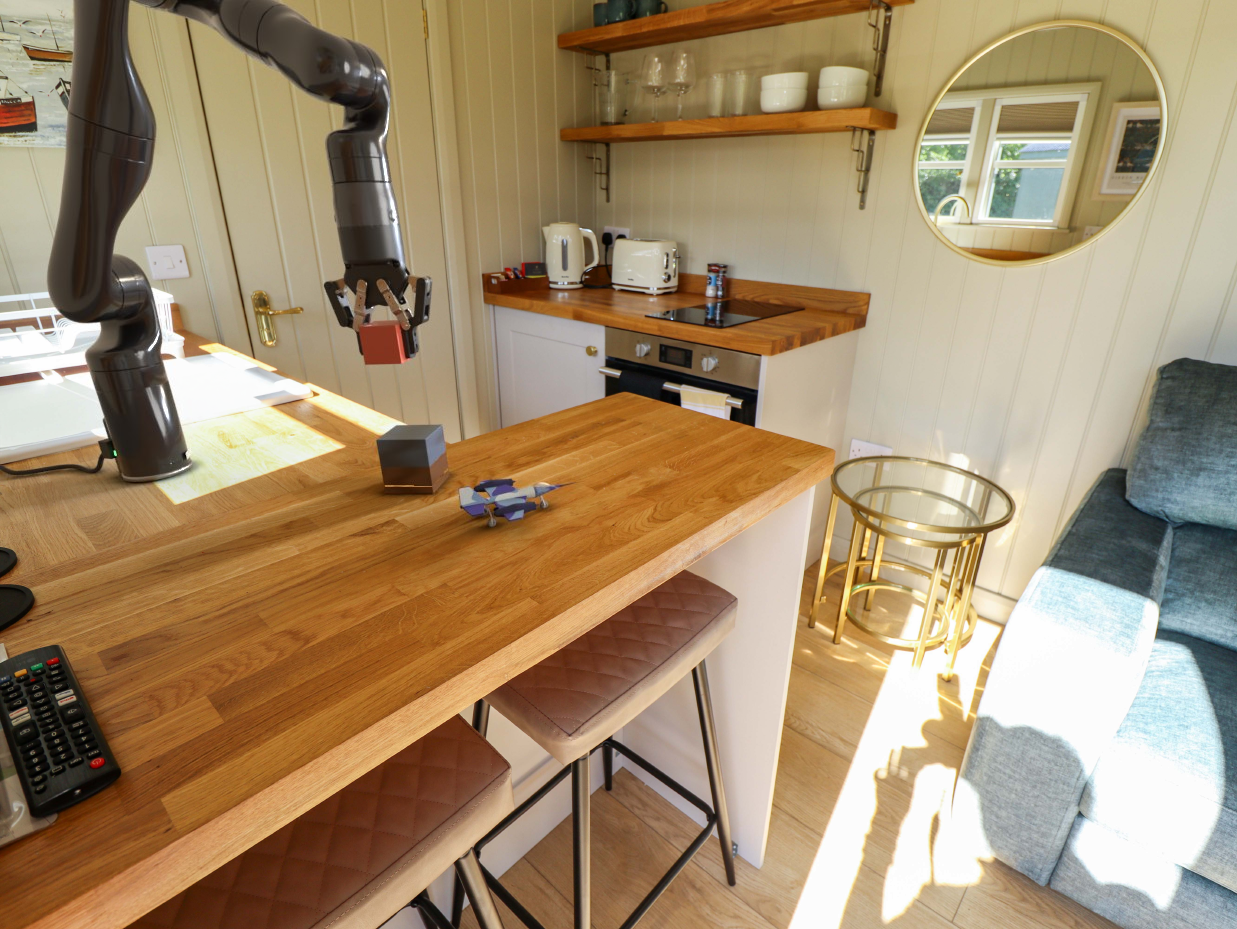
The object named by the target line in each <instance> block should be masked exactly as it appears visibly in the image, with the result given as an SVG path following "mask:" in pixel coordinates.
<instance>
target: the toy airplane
mask: <svg viewBox="0 0 1237 929" xmlns="http://www.w3.org/2000/svg"><path fill="white" fill-rule="evenodd" d="M516 482H517V480H513V478H511V477H510V478H498V479H497V478H496V479H493V478H492V479H490V478H489V479H485V480H481V481H479V484H477V485H475V486H473V488H471V486H469V485H468V486H464V487H460V488H458V499H459V504H460V505H459V508H460V510H463V511H465V512H466V513H467V514H468V515H469V516H471V517H472V518H474V517H478V516H487V515H488V514H489V516H490V518H489V519H488V520H487V525H488V527H490V528H493V527H495V526H496V524H497V520H496V519H495V518H505V519H506V520H507V522H514V521H515V522H516V521H518V520H522V519H523V518H524V515H525V514H527V513H530V512H533V511H535V510H537V508H538V507H540V508H541V509H546V508H548V506H549V504H548V501H546V500H544V497H543V496H544V495H545V494H547V493H550V492H552V491H554V490H558V489H560V488H562V487H565V486H569V485H570V486H571V485H573V484H578V483H579V481H577V482H570V483H565V484H554V485H553V484H551V485H550V484H549V483H547V482H544V481H540V482H536V483H534V484H532V485H529V486H526V487H523V488H518V487H515V486H514V483H516ZM581 482H583V481H580V483H581ZM480 493H486V494H487V495H488V497H483V496H482V495H481V494H480ZM536 498H539V499H540V500H539V501H540V503H536V501H527V500H529V499H530V500H531V499H536ZM489 505H495V507H494V508H493V509H492V511H493V515H492V512H491V510H490V508H489ZM485 506H486V507H485ZM493 516H494V517H495V518H493Z"/></svg>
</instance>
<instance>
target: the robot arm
mask: <svg viewBox="0 0 1237 929" xmlns="http://www.w3.org/2000/svg"><path fill="white" fill-rule="evenodd" d="M130 2H133V3H135V4H137V5H140V6H143V7H146V8H147V9H151V10H153V11H159V12H164V13H168V14H171V15H175V16H179V17H181V18H185V19H189V20H192V21H194V22H198V23H200V24H202V25H204V26H207V27H209V28H210V29H212V30H214V31H216V32H217V33H218V34H220V36H221V37H222V38H224V39H225V40H226V41H227V42H228V43H229V44H230V45H232V46H233V47H234V48H236V49H238V50H239V51H241V52H242V53H244V54H246V55H247V56H249V57H251V58H252V59H253V60H256V61H258V62H259V63H261V64H263V65H265V66H266V67H269V68H270V69H273V70H274V71H276V72H278V73H280V74H281V75H282V76H283V77H284V78H285V79H286V80H288V81H289V82H290V83H291V84H292V85H293V86H295V87H296V88H297V89H298V90H300V91H301V92H302V93H304V94H306V95H308V96H310V97H311V98H313V99H316V100H318V101H320V102H323V103H324V104H325V103H326V104H329V105H336V106H339V107H340V106H341V107H342V108H343V115H342V116H343V117H342V126H341V128H337V129H334V130H331V131H330V132H328V133H327V135H326V136H325V139H324V140H325V141H324V146H325V149H324V150H325V155H326V160H327V161H326V162H327V167H328V173H329V177H330V183H331V190H332V191H331V192H332V206H333V215H334V216H333V217H334V222H335V224H336V230H337V236H338V241H339V247H340V252H341V257H342V258H341V259H342V262H343V265H344V273H343V277H342V278H339V279H332V280H328V281H325V282H324V283H323V288H324V290H325V293H326V295H327V298H328V301H329V302H330V306H331V308H332V310H333V312H334V315H335V317H336V319H337V322H338V324H339V326H340V327H342V328H349V329H351V330H353V331H354V332H355V334H356V335H355V336H356V340H357V346H358V351H359V354H360V355H361V356H363V350H362V345H361V339H360V334H359V328H358V326H361V325H364V324H367V323H370V322H372V320H371V319H372V316H373V313H374V311H375V307H376V306H381V307H388V308H389V309H390V311H391V313H392V314H393V315H394V316H395V317H396V320H398V321H399V323H400V325H401V327H402V329H403V330H402V331H401V334H402V340H403V347H404V353H405V358H406V359H410V358H412V359H413V357H414V358H416V357H415V356H417V353H419V351H420V344H419V338H418V330H417V329H418V327H419V326H421V325H423V324H425V323H427V322H428V321H430V314H431V313H430V312H431V303H432V291H433V278H432V277H431V276H429V275H427V276H426V275H425V276H418V275H414V274H411V272H410V270H409V269H408V267H407V264H406V254H405V248H404V241H403V235H402V233H403V232H402V228H401V220H400V214H399V208H398V202H397V198H396V194H395V190H394V186H393V183H392V182H393V181H392V174H391V166H390V160H389V155H388V149H387V144H388V136H389V126H390V112H391V98H392V92H391V91H392V90H391V80H390V78H389V73H388V69H387V68H386V65H385V63H384V61H383V59H382V58H381V56H380V54H379V53H377V51H376V50H374V48H372V47H370V46H369V45H367V44H364V43H361V42H358V41H355V40H353V39H349V38H347V37H343V36H340V35H337V34H335V33H332V32H329V31H327V30H323V29H322V28H320V27H317V26H316V25H313V24H312V22H311V21H309V19H308V18H307V17H306V16H304V15H303V14H301V13H300V12H299V11H297V10H295V9H294V8H292V7H290V6H288V5H287V4H285V3H283V2H281V1H279V0H73V1H72V3H73V4H72V5H73V6H72V7H73V46H72V61H71V62H72V64H71V77H70V78H71V80H70V90H69V98H68V105H67V115H66V116H67V117H66V118H67V119H66V130H65V158H64V167H63V176H62V186H61V192H60V204H59V212H58V217H57V222H56V227H55V232H54V236H53V241H52V245H51V249H50V253H49V254H50V255H49V258H48V264H47V270H46V271H47V272H46V288H47V292H48V297H49V298H50V301H51V303H52V305H53V307H54V308H55V309H56V310H57V312H59V314H60V315H61V316H63V317H64V318H65V319H67V320H68V321H71V322H74V323H76V324H98V323H99V324H100V332H99V334H98V337H97V339H96V341H95V342H93V343H92V345H90V346H89V347H88V348H87V349H86V351H85V353H84V359H85V362H86V365H87V369H88V371H89V374H90V377H91V380H92V384H93V388H94V390H95V392H96V396H97V399H98V403H99V405H100V409H101V412H102V414H103V418H102V423H103V427H104V431H105V433H106V436H107V438H104V439H100V440H98V441H97V443H98V447H99V449H100V454H99V456H98V460H97V462H96V463H97V464H96V466H95V467H93V468H88V467H85V466H83V465H81V464H75V463H66V464H65V463H63V464H57V465H56V464H55V465H49V466H44V467H43V466H42V467H38V468H31V469H23V470H13V469H10V468H9V467H6V466H5V465H2V464H0V471H1V472H3V473H5V474H7V475H9V476H26V475H34V474H40V473H46V472H53V471H58V470H68V469H73V470H78V471H81V472H84V473H89V474H96V473H98V472H100V471H101V470H102V469H103V466H104V462H105V460H106V459H107V460H114V461H115V463H116V464H115V465H116V467H117V470H118V473H119V476H121V477H122V479H123V481H125V482H129V483H144V482H145V483H146V482H152V481H158V480H163V479H167V478H171V477H174V476H178V475H180V474H182V473H185V472H187V471H189V470H190V469H191V468H193V467H194V464H193V460H192V459H191V455H192V450H191V446H189V448H188V445H187V442H186V438H185V434H184V431H183V427H182V423H181V420H180V416H179V413H178V409H177V404H176V401H175V398H174V395H173V391H172V387H171V384H170V380H169V378H168V374H167V370H166V367H165V362H164V360H163V356H162V345H163V333H162V332H163V331H162V328H161V323H160V319H159V314H158V309H157V304H156V301H155V296H154V292H153V289H152V286H151V283H150V281H149V279H148V277H147V275H146V273H145V271H144V270H143V269H142V268H141V266H140V265H139V264H138V263H137V262H136V261H134V260H133V259H132V258H130V257H128V256H126V255H123V254H118V253H114V250H115V243H116V239H117V235H118V232H119V229H120V227H121V225H122V222H123V221H124V219H125V218H126V216H127V215H128V213H129V211H130V210H131V209H132V207H133V206H134V204H135V203H136V201H137V200H138V198H139V197H140V196H141V194H142V192H143V191H144V189H145V187H146V186H147V183H148V182H149V179H150V177H151V175H152V174H151V173H152V171H153V165H154V158H155V150H156V140H157V130H158V128H157V119H156V115H155V111H154V109H153V108H154V107H153V106H152V103H151V101H150V98H149V96H148V93H147V91H146V88H145V86H144V84H143V81H142V79H141V77H140V74H139V72H138V70H137V67H136V64H135V62H134V58H133V55H132V52H131V47H130V46H131V45H130V39H129V17H130V16H129V13H130ZM409 285H410V286H411V291H412V293H414V295H415V296H414V307H413V308H414V310H413V311H412V309H411V307H412V306H411V305H410V302H409V301H408V298H407V297H406V294H405V293H406V291H407V289H408V287H409ZM348 289H349V290H350V291H351V292H352V293H353V295H354V296H355V300H354V306H353V308H352V306H351V303H350V301H349V299H348V298H349V297H348V296H347V295H348V291H349V290H348ZM410 360H411V359H410Z"/></svg>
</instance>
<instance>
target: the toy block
mask: <svg viewBox="0 0 1237 929" xmlns="http://www.w3.org/2000/svg"><path fill="white" fill-rule="evenodd" d="M358 328H359V334H360V339H361V345H362V350H363V355H362V357H363V362H364V365H365V366H374V365H377V366H378V365H379V366H380V365H402V364H404V363H406V362H408V361H410V360H411V359H413V358H416V356H417V355H416V356H415V357H413V358H410V359H406V358H405V353H404V347H403V340H402V334H401V331H402V330H403V329H402V327H401V325H400V323H399V321H398V319H393V320H392V319H391V320H389V319H388V320H373V321H370V323H367V324H364V325H361V326H358Z"/></svg>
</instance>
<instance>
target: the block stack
mask: <svg viewBox="0 0 1237 929" xmlns="http://www.w3.org/2000/svg"><path fill="white" fill-rule="evenodd" d="M443 426H444V425H443V424H396V425H394V426H393V427H392V428H391V429H388V431H386V432H385V433H384V434H382V435H381V436H380V437H378V438H376V440H375V441H376V448H377V453H378V459H379V465H380V470H381V477H382V482H383V488H384V493H385V495H408V494H409V495H412V494H413V495H415V494H416V495H417V494H419V495H420V494H421V495H422V494H423V495H424V494H425V495H428V494H429V495H430V494H432V495H433V494H435V492H436V491H437V490H438V489H439V488H440V487H441V486H442V485H443V483H445V482H446V480H447V479H448V478H449V477H450V469H449V463H448V462H449V461H448V455H447V448H446V441H445V434H444V427H443ZM447 468H448V469H449V470H448V471H447V472H446V473H445V474H444V475H443V476H442V474H443V473H444V471H445V470H446V469H447ZM440 476H442V477H441V478H440ZM439 478H440V479H439ZM438 479H439V481H438V482H437V483H436V481H437V480H438ZM435 483H436V484H435ZM434 484H435V485H434ZM384 485H414V486H433V485H434V486H433V487H384Z"/></svg>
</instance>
